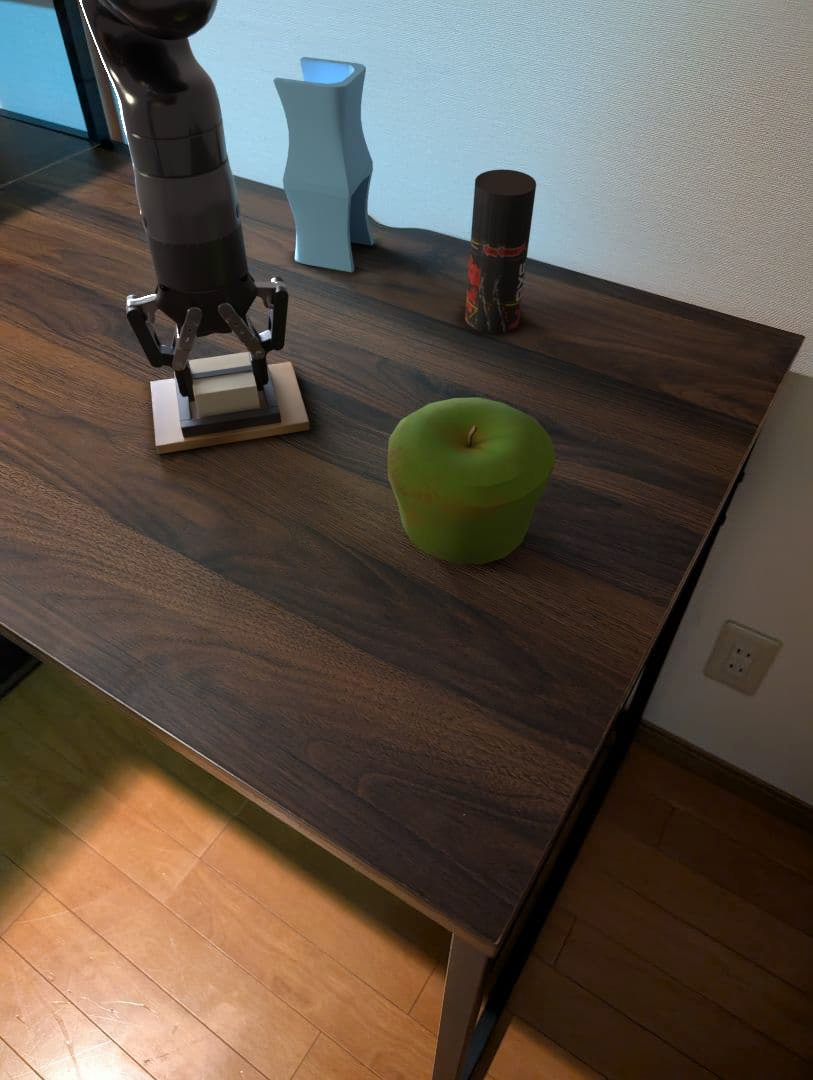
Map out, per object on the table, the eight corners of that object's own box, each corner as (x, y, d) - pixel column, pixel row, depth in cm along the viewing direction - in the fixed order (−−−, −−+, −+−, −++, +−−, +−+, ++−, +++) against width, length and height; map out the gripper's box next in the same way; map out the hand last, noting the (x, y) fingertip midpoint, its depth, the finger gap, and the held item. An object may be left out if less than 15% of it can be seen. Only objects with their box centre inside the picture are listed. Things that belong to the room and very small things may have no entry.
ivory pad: (199, 418, 73) (193, 394, 71) (194, 382, 77) (188, 359, 75) (260, 408, 74) (256, 384, 72) (252, 374, 78) (248, 350, 76)
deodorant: (516, 336, 86) (534, 198, 75) (461, 330, 86) (471, 192, 75) (520, 307, 90) (538, 172, 79) (468, 301, 90) (478, 167, 79)
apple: (530, 480, 70) (548, 374, 62) (547, 587, 62) (570, 481, 54) (389, 479, 70) (388, 373, 62) (387, 586, 62) (385, 480, 54)
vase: (316, 232, 101) (302, 56, 87) (374, 242, 100) (370, 64, 85) (291, 261, 96) (272, 79, 81) (352, 272, 95) (343, 88, 80)
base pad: (158, 454, 72) (152, 435, 71) (152, 389, 79) (147, 371, 77) (310, 430, 75) (308, 411, 73) (292, 369, 81) (290, 351, 80)
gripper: (275, 187, 67) (294, 358, 79) (97, 206, 64) (145, 379, 76) (290, 228, 62) (307, 403, 74) (98, 250, 59) (149, 428, 71)
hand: (225, 390), depth 75 cm, fingers closed on ivory pad, 5 cm apart
